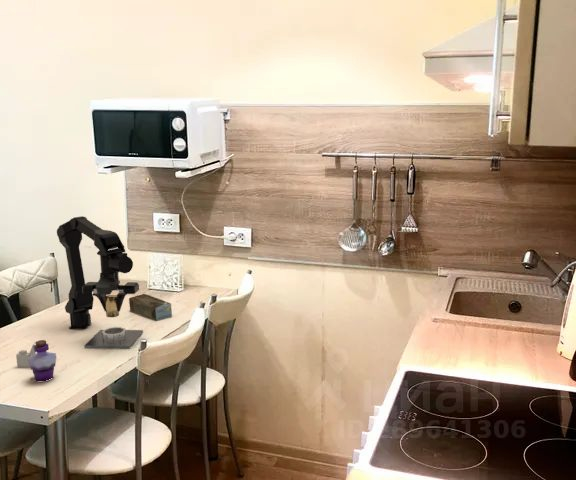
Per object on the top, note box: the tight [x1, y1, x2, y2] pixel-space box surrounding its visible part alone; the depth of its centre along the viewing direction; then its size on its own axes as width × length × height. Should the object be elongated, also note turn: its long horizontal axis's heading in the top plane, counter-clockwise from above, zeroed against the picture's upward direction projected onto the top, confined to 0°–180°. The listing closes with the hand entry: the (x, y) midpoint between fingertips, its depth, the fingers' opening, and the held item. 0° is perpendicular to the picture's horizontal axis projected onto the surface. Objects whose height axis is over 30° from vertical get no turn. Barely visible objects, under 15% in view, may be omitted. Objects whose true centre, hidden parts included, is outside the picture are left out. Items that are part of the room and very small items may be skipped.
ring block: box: [83, 326, 144, 350], centre depth 224 cm, size 16×16×4 cm
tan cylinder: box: [105, 294, 120, 318], centre depth 221 cm, size 4×4×7 cm
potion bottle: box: [28, 339, 57, 382], centre depth 191 cm, size 9×9×12 cm
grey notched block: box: [15, 341, 37, 368], centre depth 201 cm, size 7×2×8 cm, turn 90°
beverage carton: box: [128, 293, 173, 322], centre depth 252 cm, size 8×19×7 cm, turn 46°
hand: (112, 311), depth 222 cm, fingers closed on tan cylinder, 4 cm apart
